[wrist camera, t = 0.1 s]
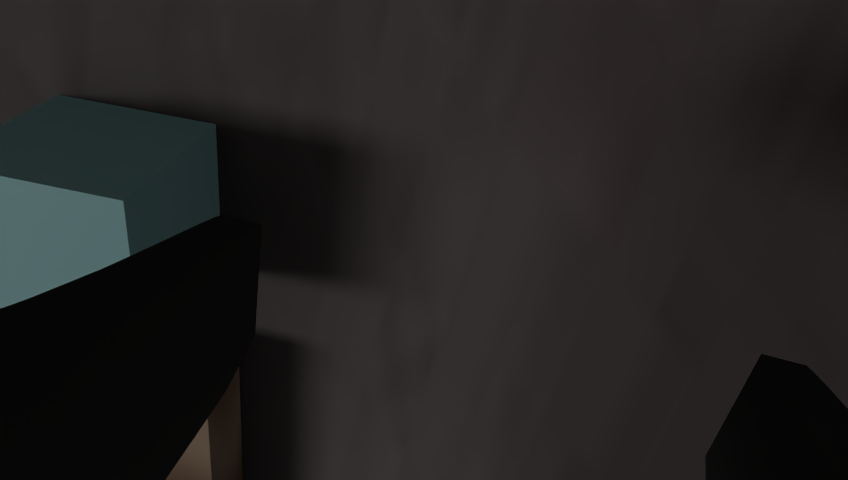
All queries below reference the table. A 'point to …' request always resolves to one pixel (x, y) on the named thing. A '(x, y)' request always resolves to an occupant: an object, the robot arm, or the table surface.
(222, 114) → the table surface
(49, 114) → the teal block
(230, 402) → the walnut base
